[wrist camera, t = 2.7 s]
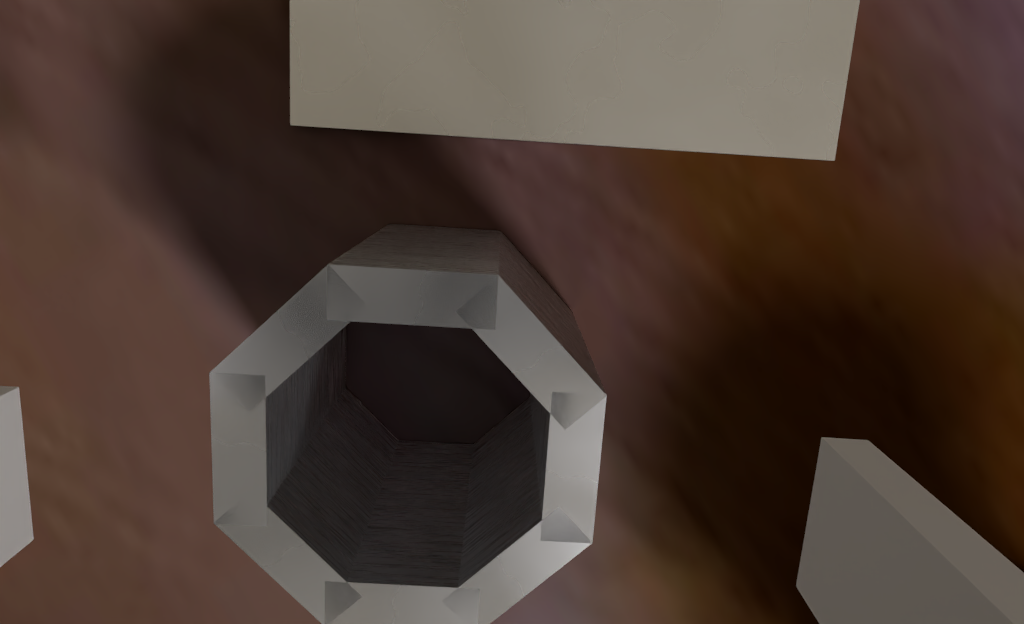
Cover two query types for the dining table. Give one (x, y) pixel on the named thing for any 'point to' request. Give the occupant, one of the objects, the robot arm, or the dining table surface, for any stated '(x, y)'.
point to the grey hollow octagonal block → (408, 464)
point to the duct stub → (580, 71)
